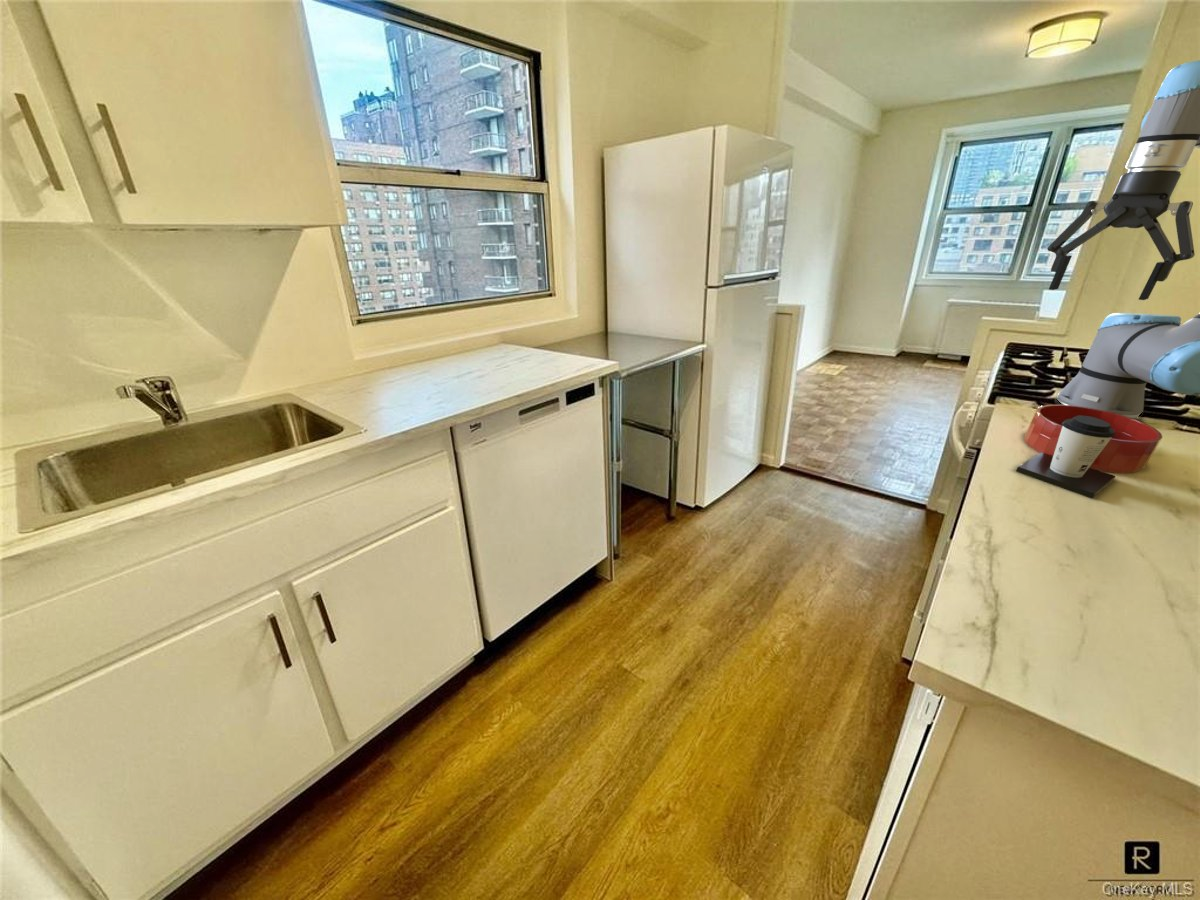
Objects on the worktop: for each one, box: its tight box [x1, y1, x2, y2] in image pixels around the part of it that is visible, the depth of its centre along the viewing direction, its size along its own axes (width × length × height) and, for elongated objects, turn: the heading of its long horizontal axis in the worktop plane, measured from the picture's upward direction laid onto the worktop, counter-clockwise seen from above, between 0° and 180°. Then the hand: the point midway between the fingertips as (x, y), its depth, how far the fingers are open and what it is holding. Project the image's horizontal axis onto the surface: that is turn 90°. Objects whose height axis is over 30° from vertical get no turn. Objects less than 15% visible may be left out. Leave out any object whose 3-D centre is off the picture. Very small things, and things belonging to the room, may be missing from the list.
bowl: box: [1023, 404, 1163, 474], centre depth 96 cm, size 18×18×6 cm
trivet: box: [1015, 452, 1116, 499], centre depth 88 cm, size 11×11×1 cm
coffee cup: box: [1050, 415, 1115, 478], centre depth 86 cm, size 7×7×10 cm
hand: (1095, 294), depth 96 cm, fingers open, 13 cm apart
